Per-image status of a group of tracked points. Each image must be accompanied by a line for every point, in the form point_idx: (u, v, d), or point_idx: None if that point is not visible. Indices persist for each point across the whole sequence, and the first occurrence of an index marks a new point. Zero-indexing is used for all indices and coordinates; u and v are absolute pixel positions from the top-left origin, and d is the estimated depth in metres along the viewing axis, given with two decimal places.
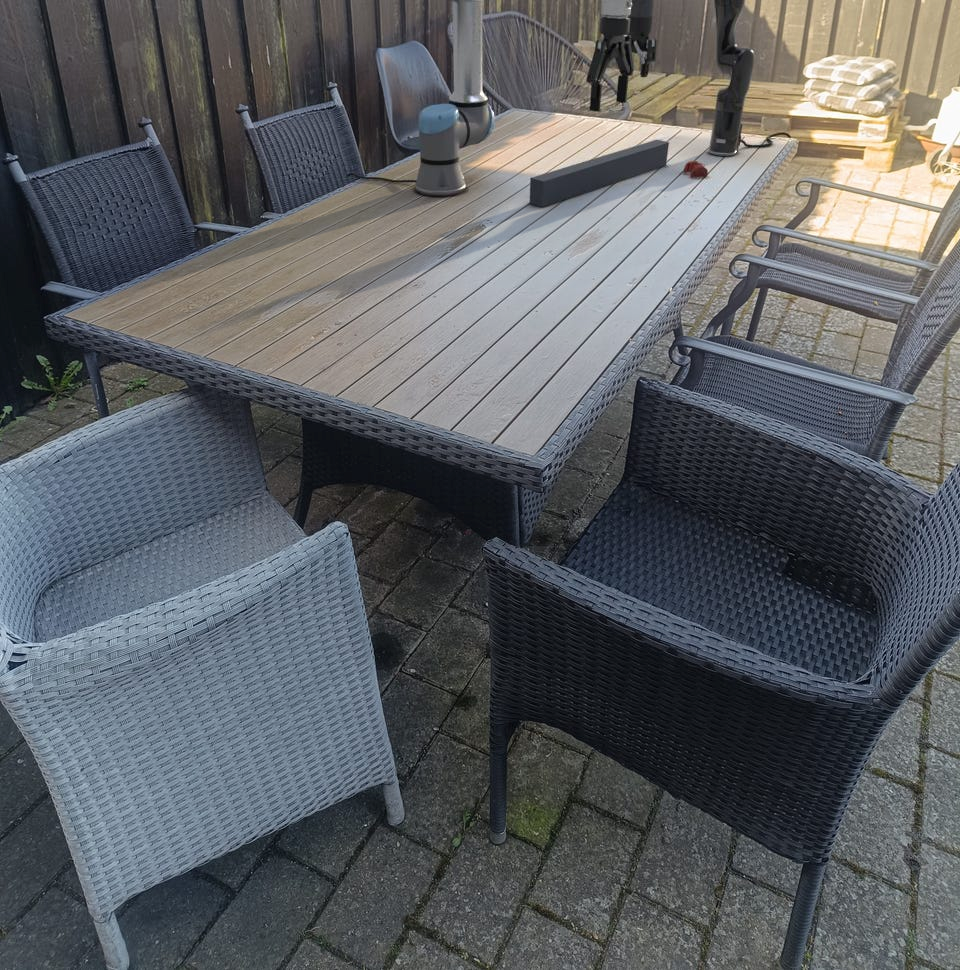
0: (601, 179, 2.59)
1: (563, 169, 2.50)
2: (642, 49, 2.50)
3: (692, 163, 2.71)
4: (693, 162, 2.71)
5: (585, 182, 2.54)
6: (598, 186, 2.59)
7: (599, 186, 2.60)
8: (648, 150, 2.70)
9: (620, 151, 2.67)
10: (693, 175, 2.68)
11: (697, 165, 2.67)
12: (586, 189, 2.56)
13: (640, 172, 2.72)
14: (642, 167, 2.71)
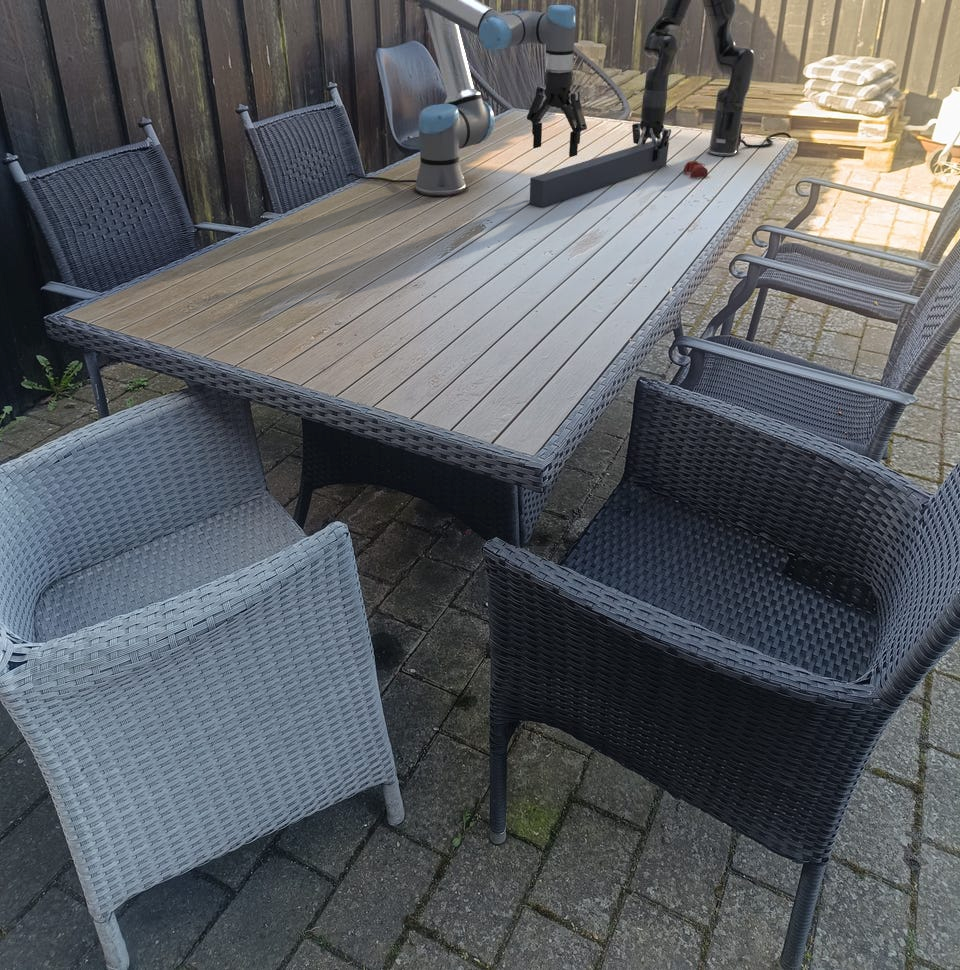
0: (601, 179, 2.59)
1: (563, 169, 2.50)
2: None
3: (692, 163, 2.71)
4: (693, 162, 2.71)
5: (585, 182, 2.54)
6: (598, 186, 2.59)
7: (599, 186, 2.60)
8: (648, 150, 2.70)
9: (620, 151, 2.67)
10: (693, 175, 2.68)
11: (697, 165, 2.67)
12: (586, 189, 2.56)
13: (640, 172, 2.72)
14: (642, 167, 2.71)
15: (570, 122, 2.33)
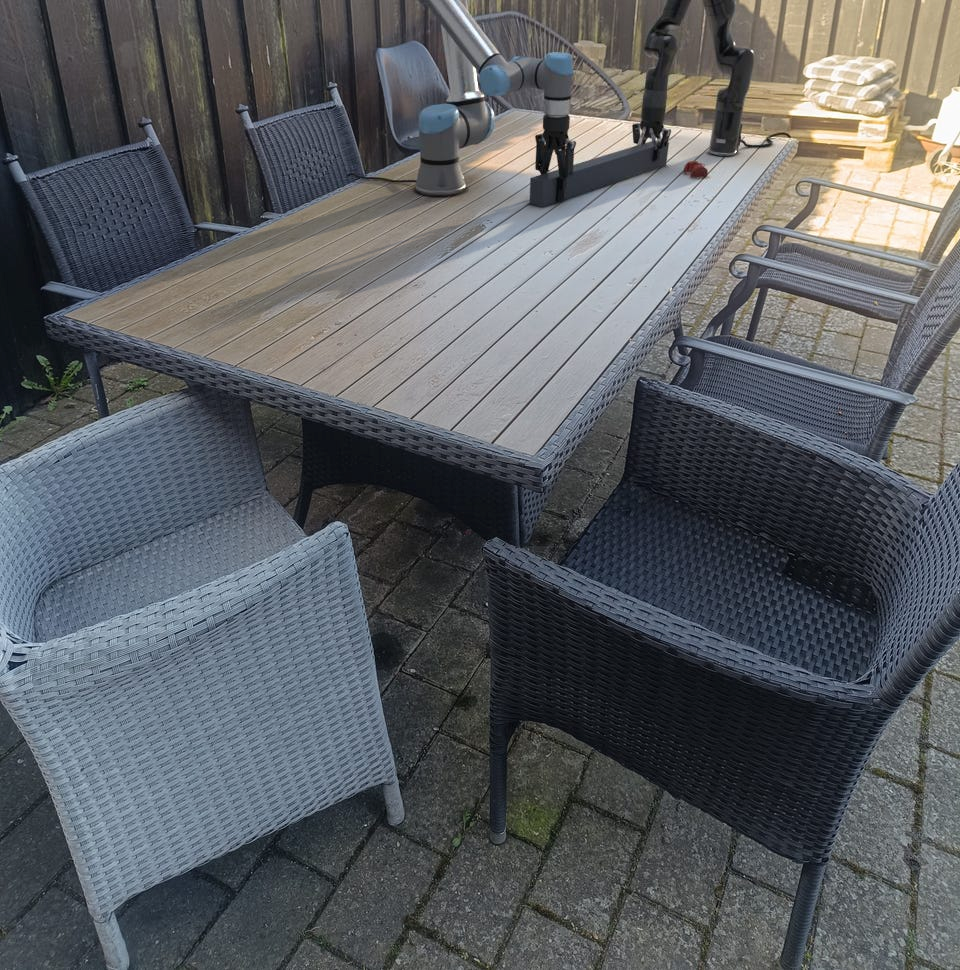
0: (601, 179, 2.59)
1: None
2: None
3: (692, 163, 2.71)
4: (693, 162, 2.71)
5: (585, 182, 2.54)
6: (598, 186, 2.59)
7: (599, 186, 2.60)
8: (648, 150, 2.70)
9: (620, 151, 2.67)
10: (693, 175, 2.68)
11: (697, 165, 2.67)
12: (586, 189, 2.56)
13: (640, 172, 2.72)
14: (642, 167, 2.71)
15: (559, 168, 2.42)
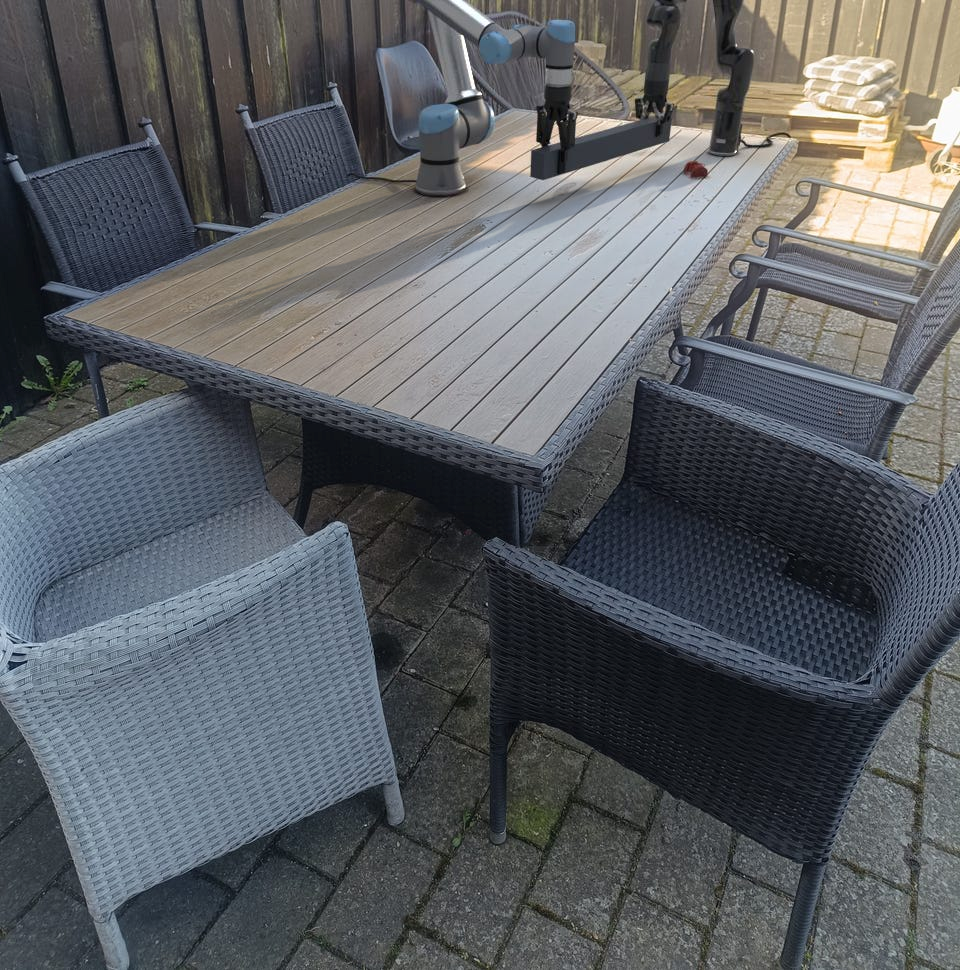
0: (603, 153, 2.54)
1: None
2: None
3: (692, 163, 2.71)
4: (693, 162, 2.71)
5: (586, 156, 2.49)
6: (600, 160, 2.55)
7: (601, 160, 2.55)
8: (651, 124, 2.65)
9: (622, 125, 2.62)
10: (693, 175, 2.68)
11: (697, 165, 2.67)
12: (588, 163, 2.51)
13: (643, 147, 2.67)
14: (644, 142, 2.67)
15: (561, 139, 2.37)
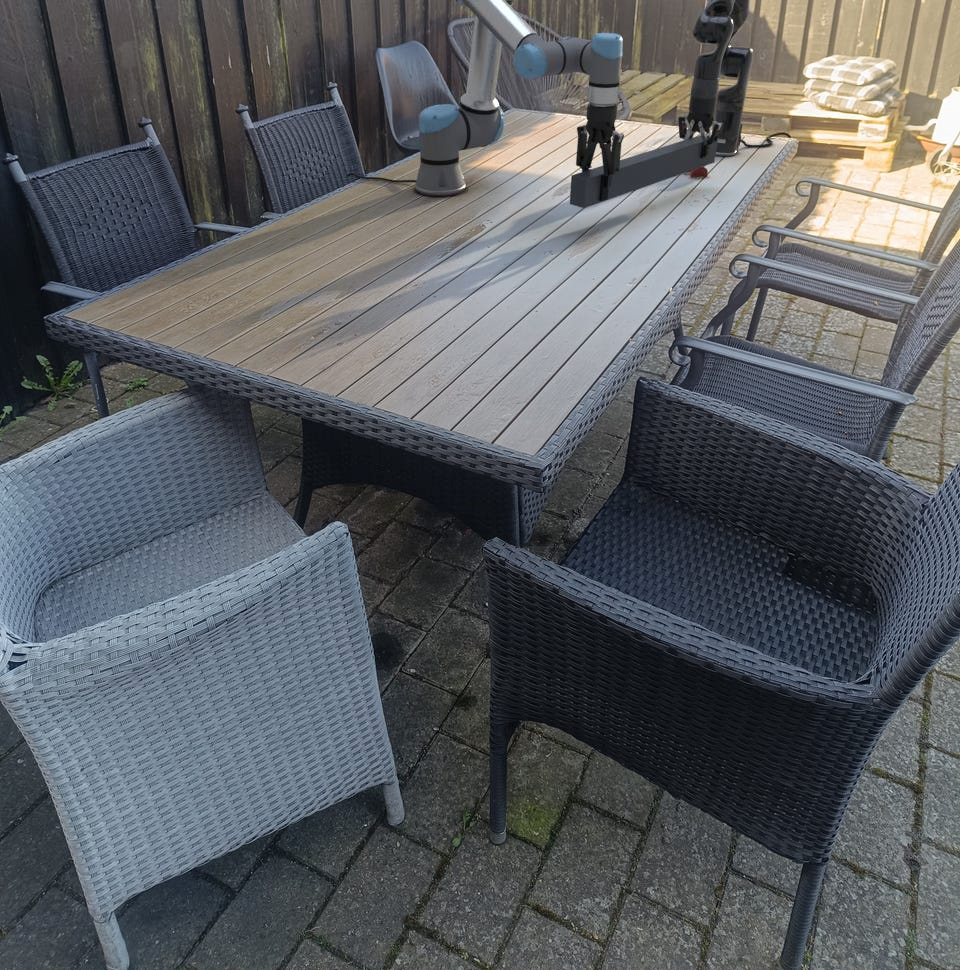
0: (647, 177, 2.34)
1: None
2: None
3: None
4: None
5: (630, 180, 2.28)
6: (643, 185, 2.34)
7: (644, 185, 2.34)
8: (696, 145, 2.44)
9: (666, 146, 2.41)
10: (693, 175, 2.68)
11: None
12: (631, 188, 2.30)
13: (687, 170, 2.46)
14: (689, 164, 2.46)
15: (604, 163, 2.16)
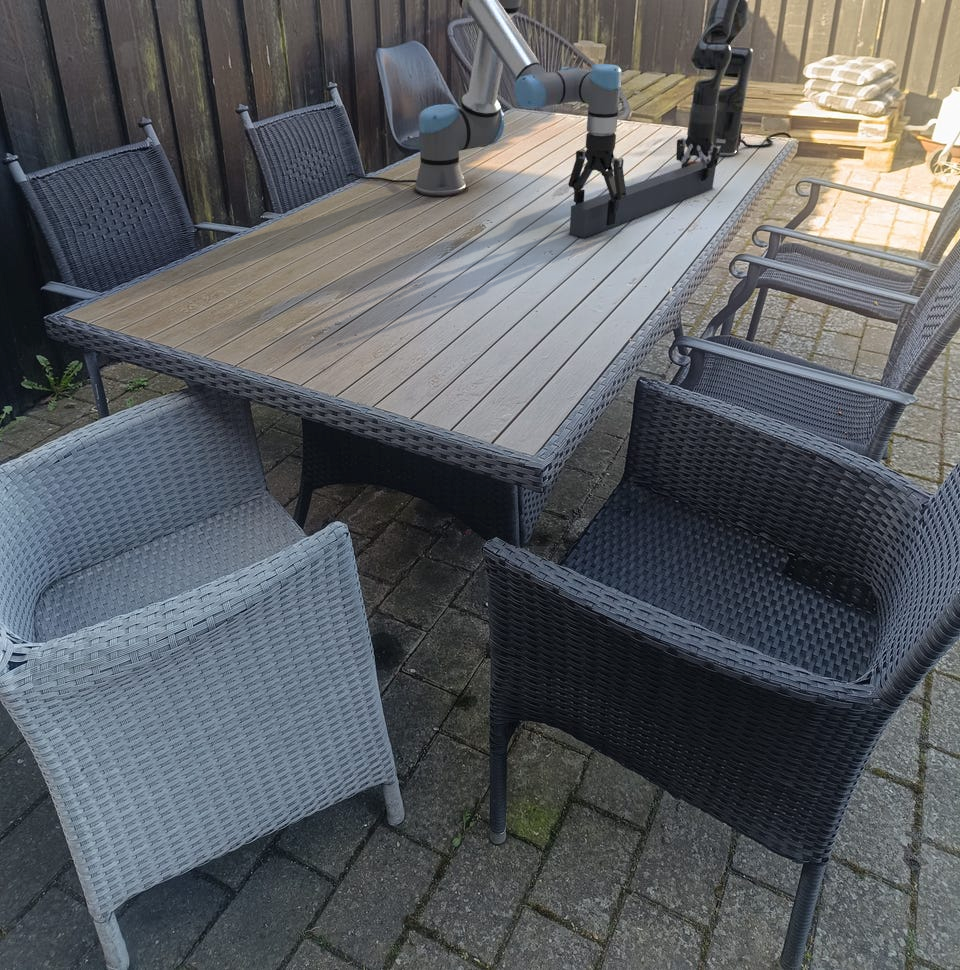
0: (646, 205, 2.38)
1: (606, 195, 2.29)
2: (704, 153, 2.48)
3: (692, 163, 2.71)
4: (693, 162, 2.71)
5: (629, 209, 2.33)
6: (642, 213, 2.38)
7: (643, 213, 2.38)
8: (694, 172, 2.49)
9: (665, 174, 2.45)
10: None
11: None
12: (630, 216, 2.35)
13: (686, 197, 2.51)
14: (687, 191, 2.50)
15: (609, 189, 2.18)
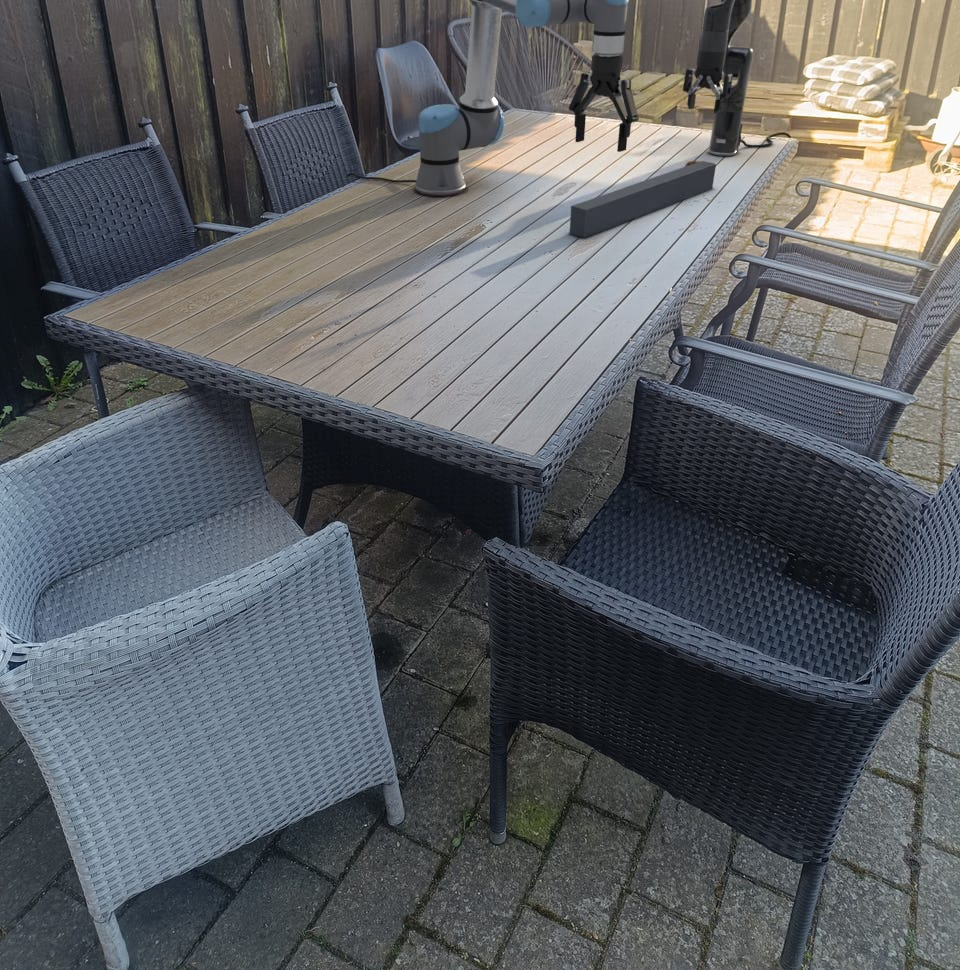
0: (646, 205, 2.38)
1: (606, 195, 2.29)
2: (715, 84, 2.37)
3: (692, 163, 2.71)
4: (693, 162, 2.71)
5: (629, 209, 2.33)
6: (642, 213, 2.38)
7: (643, 213, 2.38)
8: (694, 172, 2.49)
9: (665, 174, 2.45)
10: None
11: None
12: (630, 216, 2.35)
13: (686, 197, 2.51)
14: (687, 191, 2.50)
15: (620, 112, 2.07)
